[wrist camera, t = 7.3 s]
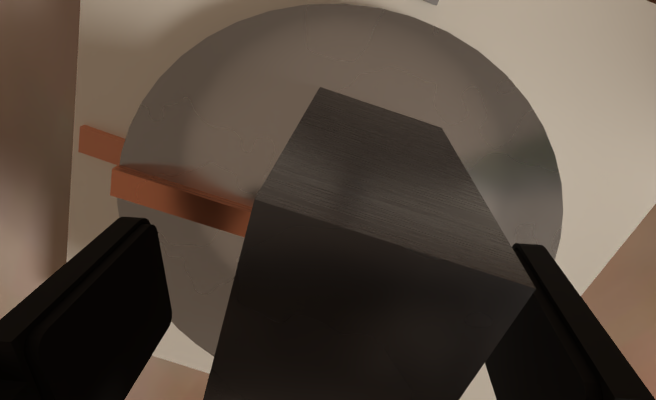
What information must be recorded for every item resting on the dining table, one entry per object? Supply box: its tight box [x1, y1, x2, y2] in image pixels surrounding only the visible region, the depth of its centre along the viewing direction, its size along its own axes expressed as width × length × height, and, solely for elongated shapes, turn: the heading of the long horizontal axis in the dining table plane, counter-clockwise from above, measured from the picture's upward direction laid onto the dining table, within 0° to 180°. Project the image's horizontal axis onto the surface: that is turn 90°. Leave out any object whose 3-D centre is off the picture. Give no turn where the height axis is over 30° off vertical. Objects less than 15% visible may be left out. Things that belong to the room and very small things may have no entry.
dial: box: [110, 4, 563, 400], centre depth 9 cm, size 12×12×7 cm
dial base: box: [66, 0, 656, 400], centre depth 13 cm, size 16×16×2 cm
